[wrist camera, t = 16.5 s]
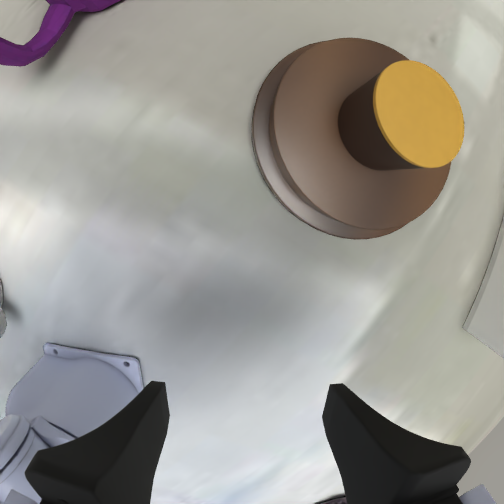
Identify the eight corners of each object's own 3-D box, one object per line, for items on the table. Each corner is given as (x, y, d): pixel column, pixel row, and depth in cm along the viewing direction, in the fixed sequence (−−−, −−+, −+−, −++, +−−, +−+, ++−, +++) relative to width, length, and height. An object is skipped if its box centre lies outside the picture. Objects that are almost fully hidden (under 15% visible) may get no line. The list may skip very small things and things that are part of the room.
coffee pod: (350, 178, 16) (393, 176, 11) (326, 93, 15) (359, 61, 10) (420, 163, 16) (473, 160, 11) (399, 85, 15) (445, 61, 10)
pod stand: (246, 231, 20) (248, 241, 16) (256, 35, 17) (259, 9, 13) (427, 241, 20) (455, 251, 17) (429, 71, 18) (454, 58, 14)
